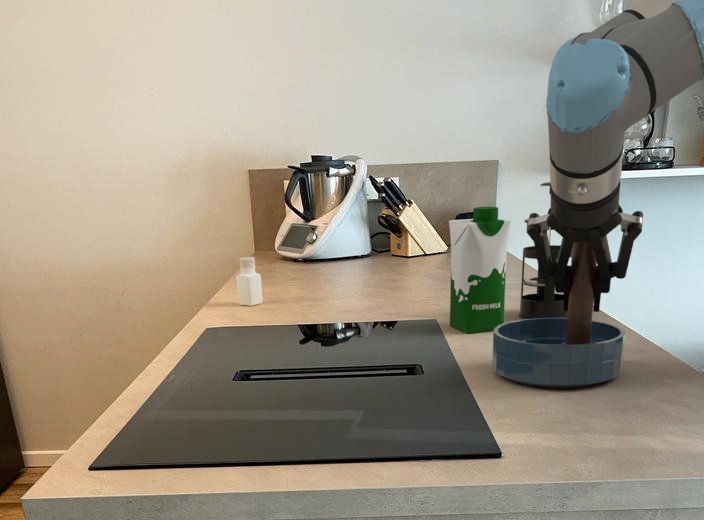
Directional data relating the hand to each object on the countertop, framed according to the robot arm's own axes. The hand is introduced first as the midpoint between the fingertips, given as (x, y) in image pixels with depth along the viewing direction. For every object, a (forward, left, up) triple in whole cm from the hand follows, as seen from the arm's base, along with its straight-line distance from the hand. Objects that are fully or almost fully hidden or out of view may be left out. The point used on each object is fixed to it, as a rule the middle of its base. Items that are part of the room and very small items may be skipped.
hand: (582, 302), depth 108 cm
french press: (+3, -36, -9) cm, 37 cm away
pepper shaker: (+63, -47, -9) cm, 79 cm away
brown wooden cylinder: (+1, +4, -6) cm, 7 cm away
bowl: (+3, +4, -9) cm, 10 cm away
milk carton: (+15, -25, -9) cm, 31 cm away
